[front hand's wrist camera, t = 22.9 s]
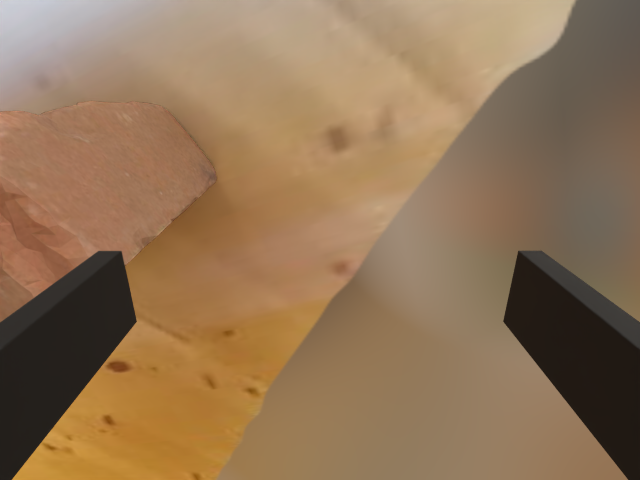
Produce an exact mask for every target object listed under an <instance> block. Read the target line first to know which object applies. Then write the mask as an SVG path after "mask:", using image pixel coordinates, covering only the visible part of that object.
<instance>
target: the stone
mask: <svg viewBox="0 0 640 480" xmlns="http://www.w3.org/2000/svg"><path fill="white" fill-rule="evenodd" d="M216 180H217V176H216V172H215V169H214V168H213V166H212V164H211V163H210V161H209V160H208V158H207V157H206V156H205V155H204V154H203V153H202V151H201V150H200V149H199V147H198V146H197V145H196V143H195V142H194V141H193V139H192V138H191V137H190V136H189V135H188V133H187V132H186V131H185V130H184V129H183V128H182V127H181V125H180V124H179V123H178V122H177V120H176V119H175V118H174V117H173V116H172V114H171V113H170V112H168V111H167V110H166V109H164V108H163V107H161V106H159V105H155V104H150V103H138V102H134V101H131V102H128V103H106V102H97V101H87V102H79V103H77V104H76V105H73V106H68V107H63V108H59V109H55V110H51V111H47V112H44V113H42V114H40V115H35V114H32V113H28V112H25V111H2V112H0V322H1V321H3V320H4V319H5V318H7V317H8V316H10V315H11V314H12V313H14V312H15V311H16V310H18V309H19V308H21V307H22V306H23V305H25V304H26V303H27V302H29V301H30V300H32V299H33V298H34V297H36V296H37V295H38V294H40V293H41V292H43V291H44V290H45V289H47V288H48V287H49V286H51V285H52V284H54V283H55V282H56V281H58V280H59V279H60V278H62V277H63V276H65V275H66V274H67V273H69V272H70V271H71V270H73V269H74V268H76V267H77V266H78V265H80V264H81V263H82V262H84V261H85V260H87V259H88V258H89V257H91V256H92V255H93V254H95V253H96V252H98V251H122V255H123V260H124V264H125V265H127V264H128V263H129V262H130V261H131V260H132V259H133V258H134V257H135V256H136V255H137V254H138V253H139V252H140V251H141V250H142V249H143V248H144V247H145V246H146V245H147V244H149V243H150V242H151V241H152V240H153V239H155V238H156V237H157V236H158V235H159V234H160V233H161V232H162V231H163V230H164V229H165V228H166V227H167V226H168V225H169V224H170V223H172V221H174V220H175V219H176V218H177V217H178V216H179V215H180V214H181V213H183V212H184V211H185V210H186V209H187V208H188V207H189V206H190V205H191V204H192V203H193V202H194V201H195V200H197V199H198V198H199V197H200V196H201V195H202V194H203V193H204V192H205V191H206V190H207V189H208V188H210V187H211V186H212V185H213V184H214V183H215V182H216Z"/></svg>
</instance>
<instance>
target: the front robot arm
mask: <svg viewBox="0 0 640 480" xmlns="http://www.w3.org/2000/svg"><path fill="white" fill-rule="evenodd" d="M136 322H137V321H136V316H135V311H134V307H133V302H132V297H131V293H130V288H129V283H128V278H127V274H126V269H125V264H124V260H123V255H122V251H98V252H96V253H95V254H93V255H92V256H91V257H89V258H88V259H87V260H85V261H84V262H82V263H81V264H80V265H78V266H77V267H76V268H74V269H73V270H71V271H70V272H69V273H67V274H66V275H65V276H63V277H62V278H60V279H59V280H58V281H56V282H55V283H54V284H52V285H51V286H49V287H48V288H47V289H45V290H44V291H43V292H41V293H40V294H38V295H37V296H36V297H34V298H33V299H32V300H30V301H29V302H27V303H26V304H25V305H23V306H22V307H21V308H19V309H18V310H16V311H15V312H14V313H12V314H11V315H10V316H8V317H7V318H5V319H4V320H3V321H1V322H0V480H12V479H13V477H14V476H15V475H16V474H17V472H18V471H19V470H20V468H21V467H22V466H23V465H24V463H25V462H26V461H27V460H28V458H29V457H30V456H31V455H32V453H33V452H34V451H35V449H36V448H37V447H38V446H39V444H40V443H41V442H42V441H43V439H44V438H45V437H46V436H47V434H48V433H49V432H50V431H51V429H52V428H53V427H54V425H55V424H56V423H57V422H58V420H59V419H60V418H61V417H62V415H63V414H64V413H65V412H66V410H67V409H68V408H69V406H70V405H71V404H72V403H73V401H74V400H75V399H76V398H77V396H78V395H79V394H80V393H81V391H82V390H83V389H84V388H85V386H86V385H87V384H88V382H89V381H90V380H91V379H92V377H93V376H94V375H95V374H96V372H97V371H98V370H99V369H100V367H101V366H102V365H103V363H104V362H105V361H106V360H107V358H108V357H109V356H110V355H111V353H112V352H113V351H114V350H115V348H116V347H117V346H118V345H119V343H120V342H121V341H122V339H123V338H124V337H125V336H126V334H127V333H128V332H129V331H130V329H131V328H132V327H133V326H134V324H135V323H136ZM504 323H505V324H506V326H507V327H508V328H509V329H510V331H511V332H512V333H513V334H514V336H515V337H516V338H517V339H518V341H519V342H520V343H521V345H522V346H523V347H524V348H525V350H526V351H527V352H528V353H529V355H530V356H531V357H532V358H533V360H534V361H535V362H536V363H537V365H538V366H539V367H540V369H541V370H542V371H543V372H544V374H545V375H546V376H547V377H548V379H549V380H550V381H551V382H552V384H553V385H554V386H555V388H556V389H557V390H558V391H559V393H560V394H561V395H562V396H563V398H564V399H565V400H566V401H567V403H568V404H569V405H570V406H571V408H572V409H573V410H574V412H575V413H576V414H577V415H578V417H579V418H580V419H581V420H582V422H583V423H584V424H585V425H586V427H587V428H588V429H589V431H590V432H591V433H592V434H593V436H594V437H595V438H596V439H597V441H598V442H599V443H600V444H601V446H602V447H603V448H604V449H605V451H606V452H607V453H608V455H609V456H610V457H611V458H612V460H613V461H614V462H615V463H616V465H617V466H618V467H619V468H620V470H621V471H622V472H623V474H624V475H625V476H626V477H627V479H628V480H640V322H639V321H637V320H636V319H635V318H633V317H632V316H630V315H629V314H628V313H626V312H625V311H623V310H622V309H621V308H619V307H618V306H617V305H615V304H614V303H613V302H611V301H610V300H608V299H607V298H606V297H604V296H603V295H602V294H600V293H599V292H597V291H596V290H595V289H593V288H592V287H590V286H589V285H588V284H586V283H585V282H584V281H582V280H581V279H580V278H578V277H577V276H575V275H574V274H573V273H571V272H570V271H568V270H567V269H566V268H564V267H563V266H562V265H560V264H559V263H558V262H556V261H555V260H553V259H552V258H551V257H549V256H548V255H547V254H545V253H544V252H542V251H518V255H517V260H516V265H515V269H514V274H513V278H512V283H511V288H510V293H509V297H508V302H507V307H506V311H505V316H504Z"/></svg>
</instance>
